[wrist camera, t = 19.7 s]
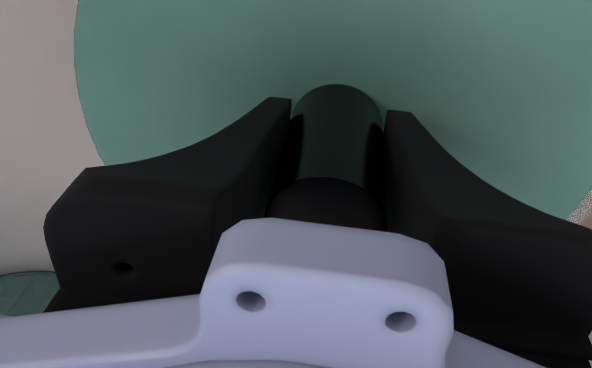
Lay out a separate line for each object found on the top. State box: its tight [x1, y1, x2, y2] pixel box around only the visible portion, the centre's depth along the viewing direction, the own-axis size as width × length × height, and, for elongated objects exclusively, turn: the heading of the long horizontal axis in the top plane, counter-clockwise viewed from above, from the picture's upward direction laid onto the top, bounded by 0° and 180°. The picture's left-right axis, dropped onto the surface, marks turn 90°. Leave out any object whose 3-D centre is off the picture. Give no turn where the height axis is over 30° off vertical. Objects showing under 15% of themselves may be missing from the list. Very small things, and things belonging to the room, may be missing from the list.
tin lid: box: [74, 0, 592, 232], centre depth 13 cm, size 15×15×6 cm
